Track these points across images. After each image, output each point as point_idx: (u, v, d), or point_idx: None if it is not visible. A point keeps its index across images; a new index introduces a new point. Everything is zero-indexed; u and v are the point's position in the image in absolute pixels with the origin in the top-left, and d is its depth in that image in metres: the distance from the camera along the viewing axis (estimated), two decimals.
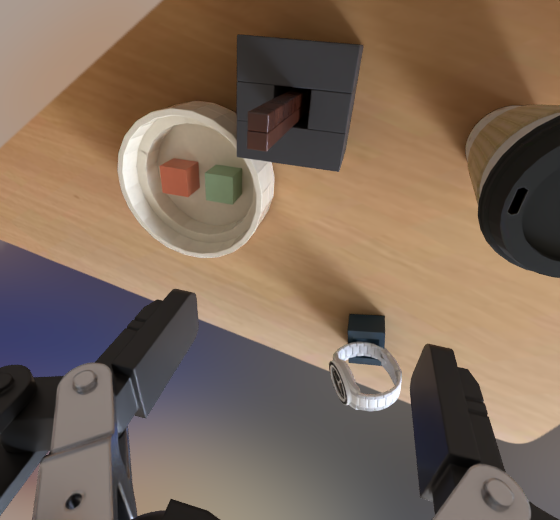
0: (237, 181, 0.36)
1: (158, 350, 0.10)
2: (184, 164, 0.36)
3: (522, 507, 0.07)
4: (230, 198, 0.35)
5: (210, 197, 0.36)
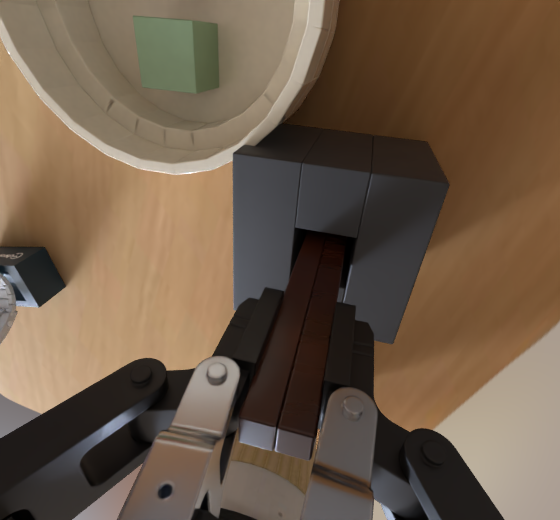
0: None
1: (265, 345, 0.11)
2: None
3: (370, 417, 0.08)
4: (153, 83, 0.17)
5: (141, 30, 0.16)
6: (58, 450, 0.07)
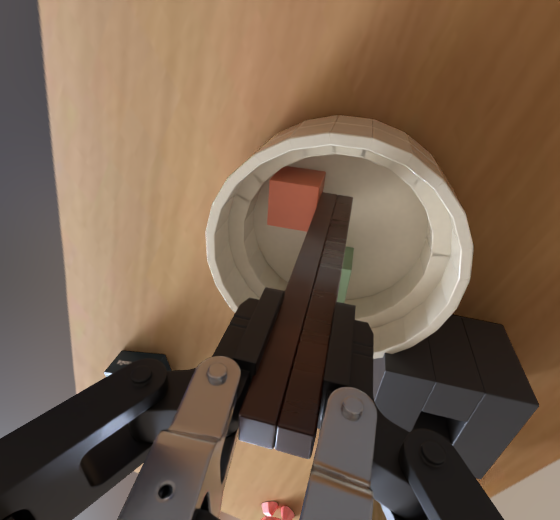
0: None
1: None
2: None
3: (370, 416, 0.08)
4: None
5: None
6: (58, 450, 0.07)
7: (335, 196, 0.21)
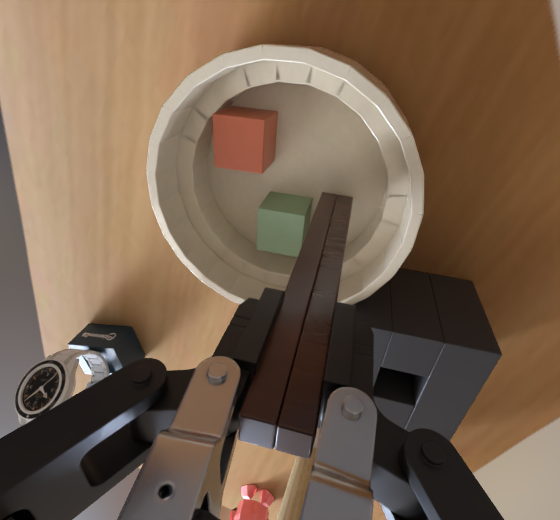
0: None
1: None
2: (269, 152, 0.21)
3: (370, 416, 0.08)
4: (266, 248, 0.22)
5: (263, 217, 0.21)
6: (58, 450, 0.07)
7: (335, 196, 0.21)
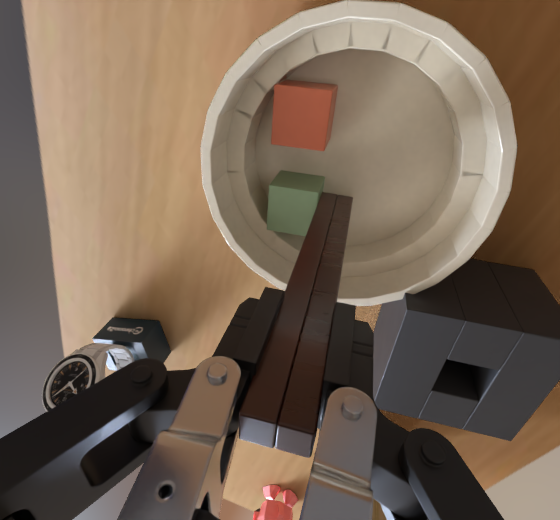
0: None
1: None
2: (329, 128, 0.19)
3: (370, 416, 0.08)
4: (276, 228, 0.22)
5: (275, 194, 0.20)
6: (58, 450, 0.07)
7: (335, 196, 0.21)
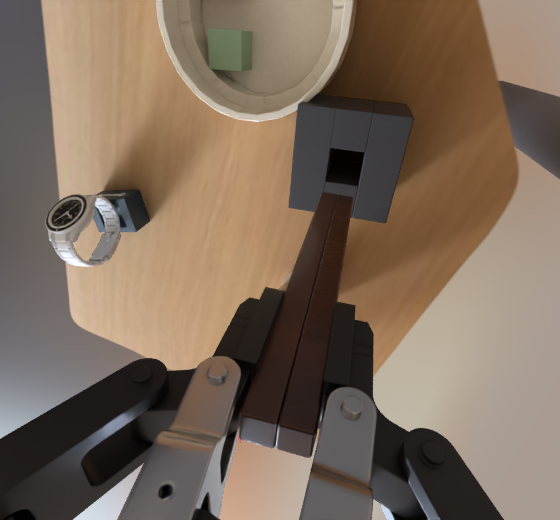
0: None
1: (266, 345, 0.11)
2: None
3: (370, 416, 0.08)
4: (216, 66, 0.30)
5: (212, 35, 0.29)
6: (59, 450, 0.07)
7: (335, 196, 0.21)
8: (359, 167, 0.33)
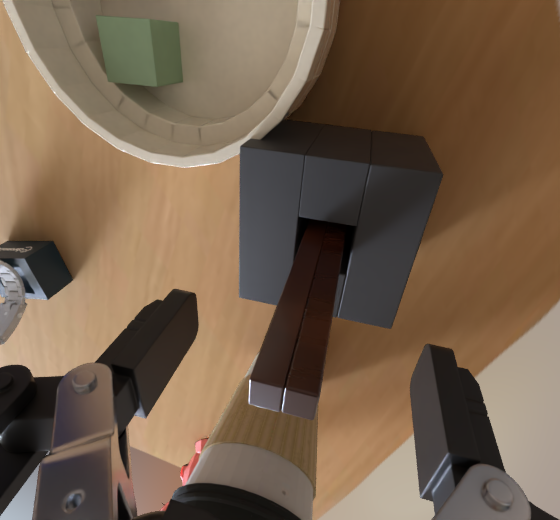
0: None
1: (158, 350, 0.10)
2: None
3: (522, 507, 0.07)
4: (117, 78, 0.19)
5: (104, 28, 0.17)
6: None
7: None
8: (350, 229, 0.22)
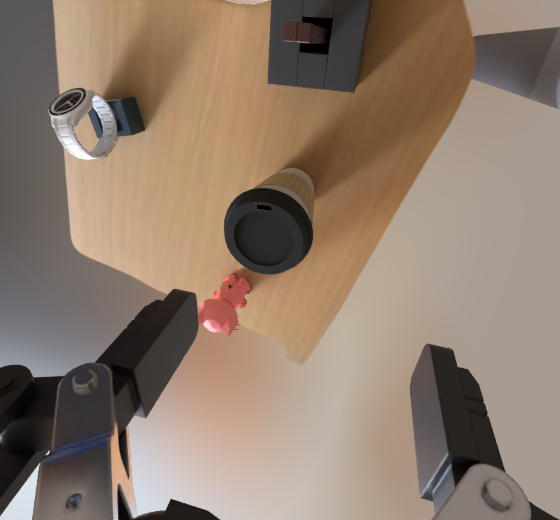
0: None
1: (158, 350, 0.10)
2: None
3: (522, 507, 0.07)
4: None
5: None
6: None
7: None
8: None
